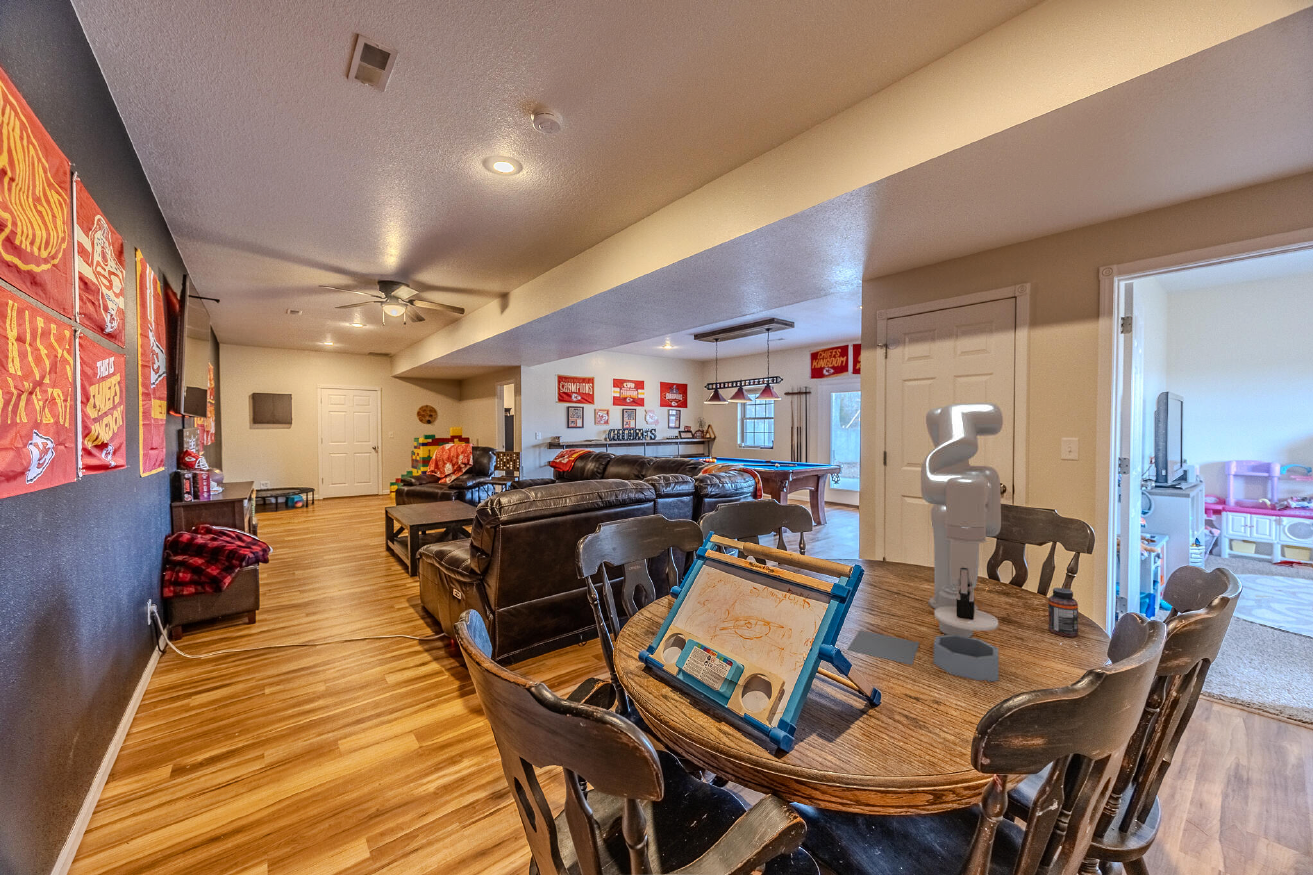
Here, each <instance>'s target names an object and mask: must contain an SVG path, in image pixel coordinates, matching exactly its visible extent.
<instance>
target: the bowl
mask: <svg viewBox="0 0 1313 875" xmlns="http://www.w3.org/2000/svg"><path fill="white" fill-rule="evenodd" d="M933 641H934V642H933V664H934V665H935V666H937V667H939V668H940V669H942V670H943V671H945V672H947V673H948V674H950V675H952V676H953V675H954V676H957V677H960V678H966V679H970V680H974V681H986V682H987V683H990V682H997V681H999V675H1000V674H999V672H1000V671H999V670H1000V669H999V668H1000V667H999V660H1000V659H999V648H998V647H996V646H994V645H993V644H990V643H988V642H986V641H984V640H982V639H980V638H975V637H972V636H971V637H965V636H960V635H955V634H953V635H946V634H944V635H936V636H935V638H934V640H933Z"/></svg>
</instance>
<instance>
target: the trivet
mask: <svg viewBox="0 0 1313 875" xmlns="http://www.w3.org/2000/svg"><path fill="white" fill-rule="evenodd" d="M920 643H921V642H919V641H914V640H911V639H910V640H909V639H904V638H900V637H894V636H890V635H885V634H880V633H877V632H876V633H875V632H870V631H866V630H861V629H859V631H858V632H857V634H856V635H855V637H854V638H853V640H852V641H851V643H850V644H849V646H848V647H847V649H846V651H849V652H855V653H858V654H861V655H862V654H863V655H866V656H867V655H868V656H871V657H875V658H879V659H883V660H888V661H891V662H892V661H893V662H897V663H900V664H906V665H910V666H912V665H913V664H914V660H915V657H916V654H917V651H918V649H919V646H920Z"/></svg>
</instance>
